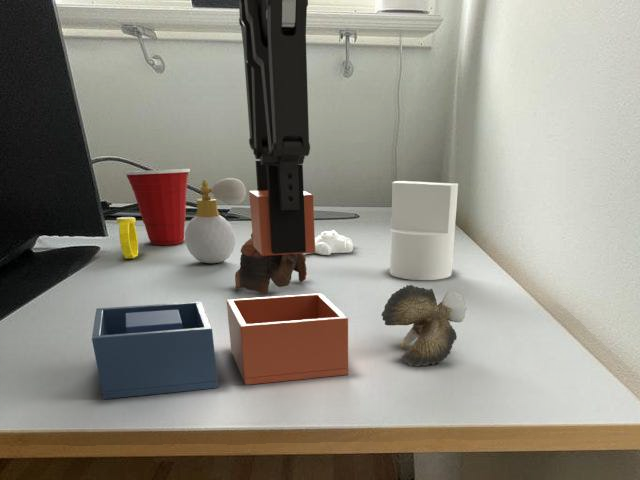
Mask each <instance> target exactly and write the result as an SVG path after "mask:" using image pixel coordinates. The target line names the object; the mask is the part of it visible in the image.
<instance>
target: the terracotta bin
mask: <svg viewBox="0 0 640 480" xmlns="http://www.w3.org/2000/svg"><path fill="white" fill-rule="evenodd" d="M226 308H227V309H226V310H227V320H228V330H229V331H228V332H229V338H230V339H229V342H230V353H231V355H232V357H233V360H234V362H235V365H236V366H237V369H238V371H239V373H240V375H241V378H242V380H243V382H244V385H245V386H247V385H248V386H249V385H250V386H251V385H260V384H267V383H277V382H279V383H280V382H288V381H297V380H309V379H317V378H328V377H337V376H347V375H349V318H348V317H347V316H346V314H344V313H343V312H342V311H341V310H340V309H339V307H337V306H336V305H335V304H334V303H333V302H332V301H331V300H330V299H329V298H328V297H326V295H324V294H323V293H322V292H320V293H306V294H290V295H289V294H288V295H275V296H263V297H262V296H261V297H247V298H246V297H245V298H231V299H226Z"/></svg>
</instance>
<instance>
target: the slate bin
mask: <svg viewBox="0 0 640 480" xmlns="http://www.w3.org/2000/svg"><path fill="white" fill-rule="evenodd" d="M163 310H179V314H180V317H181V321H182V326H183V329H178V330H165V331H153V332H140V333H126V318H125V314H126V313H135V312H149V311H163ZM91 341H92V347H93V351H94V357H95V362H96V367H97V372H98V377H99V384H100V388H101V392H102V398H103V400H110V399H111V400H112V399H121V398H122V399H123V398H130V397H140V396H149V395H150V396H152V395H160V394H161V395H162V394H170V393H171V394H172V393H179V392H189V391H200V390H209V389H218V388H219V381H218V372H217V364H216V363H217V362H216V354H215V353H216V352H215V345H214V333H213V328H212V325H211V323H210V320H209V318H208V315H207V312H206V310H205V307H204V304H203V303H202V301H188V302H173V303H171V302H169V303H157V304H141V305H128V306H127V305H125V306H112V307H99V308H97V307H96V309H95V315H94V322H93V330H92V335H91Z"/></svg>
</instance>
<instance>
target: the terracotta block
mask: <svg viewBox="0 0 640 480" xmlns="http://www.w3.org/2000/svg"><path fill="white" fill-rule="evenodd" d="M248 196H249V206H250V209H249V210H250V220H251V234H252V235H253V246H254V247H255V248H256V250H257V251H258V252H259V253H260V254H261V255H262V256H268V255H285V254H302V253H310V254H316V253H315V239H316V237H315V233H316V232H315V205H314V204H315V203H314V194H312V193H309V192H308V191H305V190H304V214H305V241H306V252H297V253H279V254H273V253H272V247H271V230H270V214H269V197H268V190H266V191H258V190H249V192H248Z"/></svg>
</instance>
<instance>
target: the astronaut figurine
mask: <svg viewBox="0 0 640 480" xmlns="http://www.w3.org/2000/svg"><path fill="white" fill-rule="evenodd" d="M353 249H354V245H353V240H352V239H351V238H349V237H346V236H345V235H340V234H339V233H338V232H337V231H336V230H334V229H332V230H325V231H322V232H320V234H319V235H317V236H316V237H315V253H314V254H318V255H323V256H330V255H331V254H349V253H352V251H353ZM310 254H311V253H304V256H305V255H310Z"/></svg>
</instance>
